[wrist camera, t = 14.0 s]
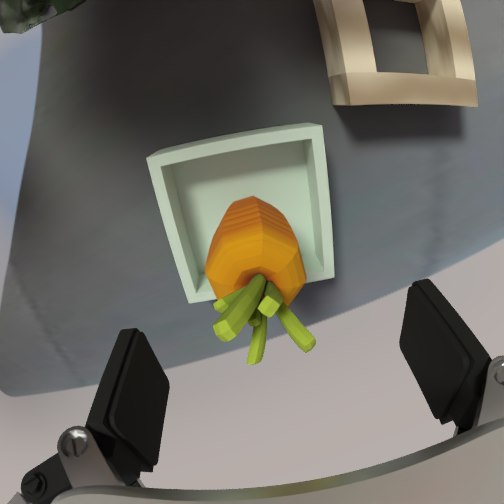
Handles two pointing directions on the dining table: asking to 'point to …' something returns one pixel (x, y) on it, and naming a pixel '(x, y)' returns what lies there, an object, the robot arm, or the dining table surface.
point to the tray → (244, 194)
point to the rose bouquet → (28, 13)
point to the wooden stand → (397, 84)
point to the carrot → (256, 274)
